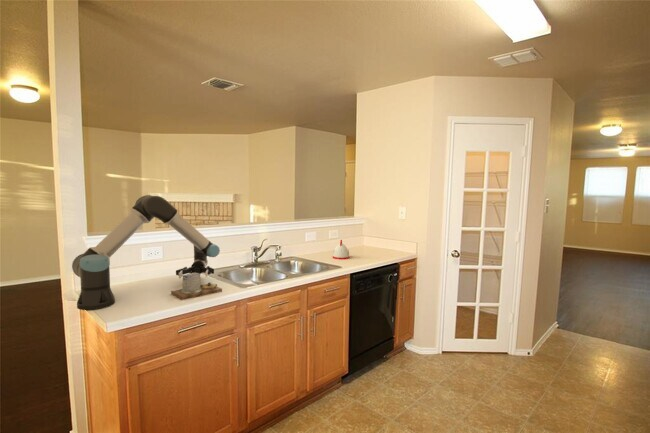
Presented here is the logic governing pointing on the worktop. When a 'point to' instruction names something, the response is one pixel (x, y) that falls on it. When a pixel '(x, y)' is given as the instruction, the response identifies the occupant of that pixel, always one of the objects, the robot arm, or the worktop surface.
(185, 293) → the gear board
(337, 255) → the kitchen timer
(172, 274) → the worktop surface
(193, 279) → the medicine box
